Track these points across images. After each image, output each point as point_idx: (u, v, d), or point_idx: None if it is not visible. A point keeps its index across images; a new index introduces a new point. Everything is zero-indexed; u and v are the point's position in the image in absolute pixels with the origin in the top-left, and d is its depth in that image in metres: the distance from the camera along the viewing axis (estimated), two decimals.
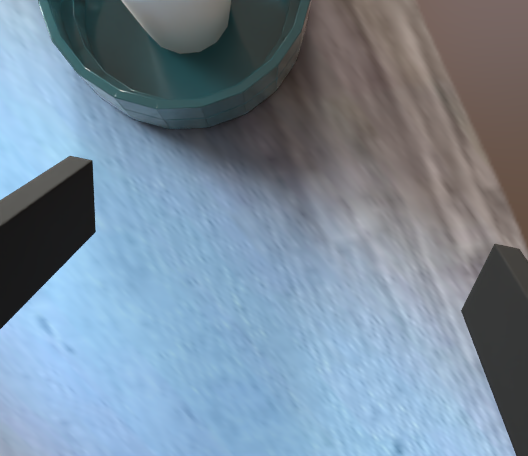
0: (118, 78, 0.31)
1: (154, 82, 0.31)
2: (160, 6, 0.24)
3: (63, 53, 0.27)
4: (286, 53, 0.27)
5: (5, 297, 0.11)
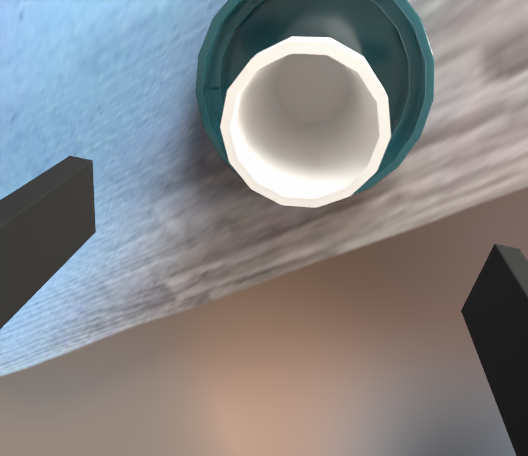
0: (245, 29, 0.34)
1: (245, 64, 0.35)
2: None
3: (228, 1, 0.30)
4: None
5: (4, 297, 0.11)
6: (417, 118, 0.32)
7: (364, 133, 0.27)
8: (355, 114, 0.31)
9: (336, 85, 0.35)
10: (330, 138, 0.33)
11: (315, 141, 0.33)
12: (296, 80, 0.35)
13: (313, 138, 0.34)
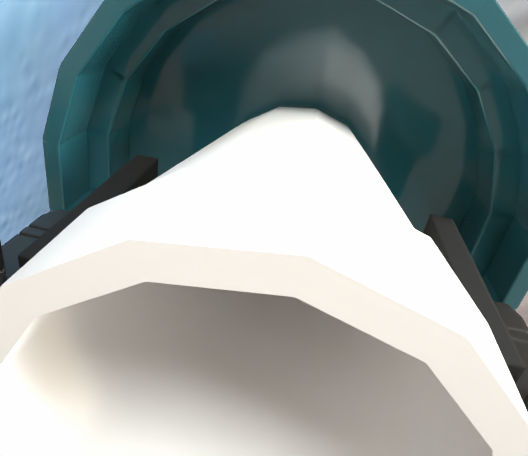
0: (157, 76, 0.17)
1: (165, 139, 0.18)
2: None
3: (88, 28, 0.13)
4: None
5: None
6: (512, 275, 0.15)
7: (413, 392, 0.10)
8: None
9: None
10: None
11: (295, 310, 0.16)
12: None
13: (291, 298, 0.17)
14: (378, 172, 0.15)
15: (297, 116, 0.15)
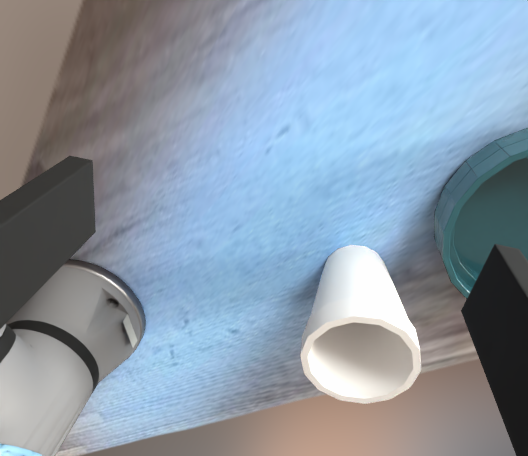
0: None
1: (474, 198, 0.40)
2: None
3: (496, 166, 0.34)
4: None
5: (4, 297, 0.11)
6: None
7: (399, 346, 0.38)
8: None
9: None
10: (370, 323, 0.43)
11: (358, 323, 0.44)
12: None
13: None
14: None
15: (361, 256, 0.42)
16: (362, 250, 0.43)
